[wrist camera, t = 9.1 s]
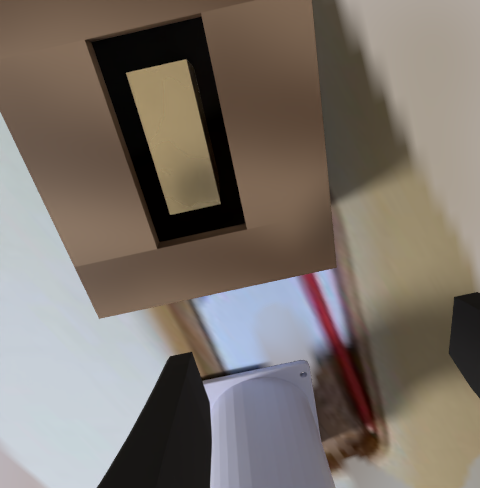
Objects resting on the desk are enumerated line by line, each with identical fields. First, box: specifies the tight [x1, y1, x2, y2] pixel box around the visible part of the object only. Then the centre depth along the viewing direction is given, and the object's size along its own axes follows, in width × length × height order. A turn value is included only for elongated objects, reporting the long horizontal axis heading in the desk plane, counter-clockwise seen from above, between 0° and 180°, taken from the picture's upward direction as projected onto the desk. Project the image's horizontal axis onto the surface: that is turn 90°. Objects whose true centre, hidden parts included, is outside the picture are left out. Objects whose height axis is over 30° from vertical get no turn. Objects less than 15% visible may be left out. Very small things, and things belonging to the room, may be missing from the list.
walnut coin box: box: [0, 0, 337, 319], centre depth 14 cm, size 12×10×6 cm
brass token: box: [126, 59, 221, 215], centre depth 14 cm, size 5×2×5 cm, turn 11°
